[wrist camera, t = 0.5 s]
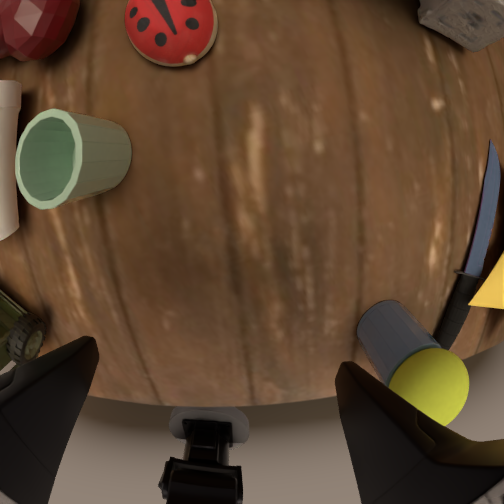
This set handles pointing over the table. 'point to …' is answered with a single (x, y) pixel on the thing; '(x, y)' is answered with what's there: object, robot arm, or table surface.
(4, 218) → the foam cup
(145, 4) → the ladybug figurine
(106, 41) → the table surface
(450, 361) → the ball
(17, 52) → the heart
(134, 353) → the table surface
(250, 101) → the table surface
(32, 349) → the toy jeep
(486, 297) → the star
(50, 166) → the cup
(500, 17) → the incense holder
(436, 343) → the container
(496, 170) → the knife
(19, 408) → the robot arm
